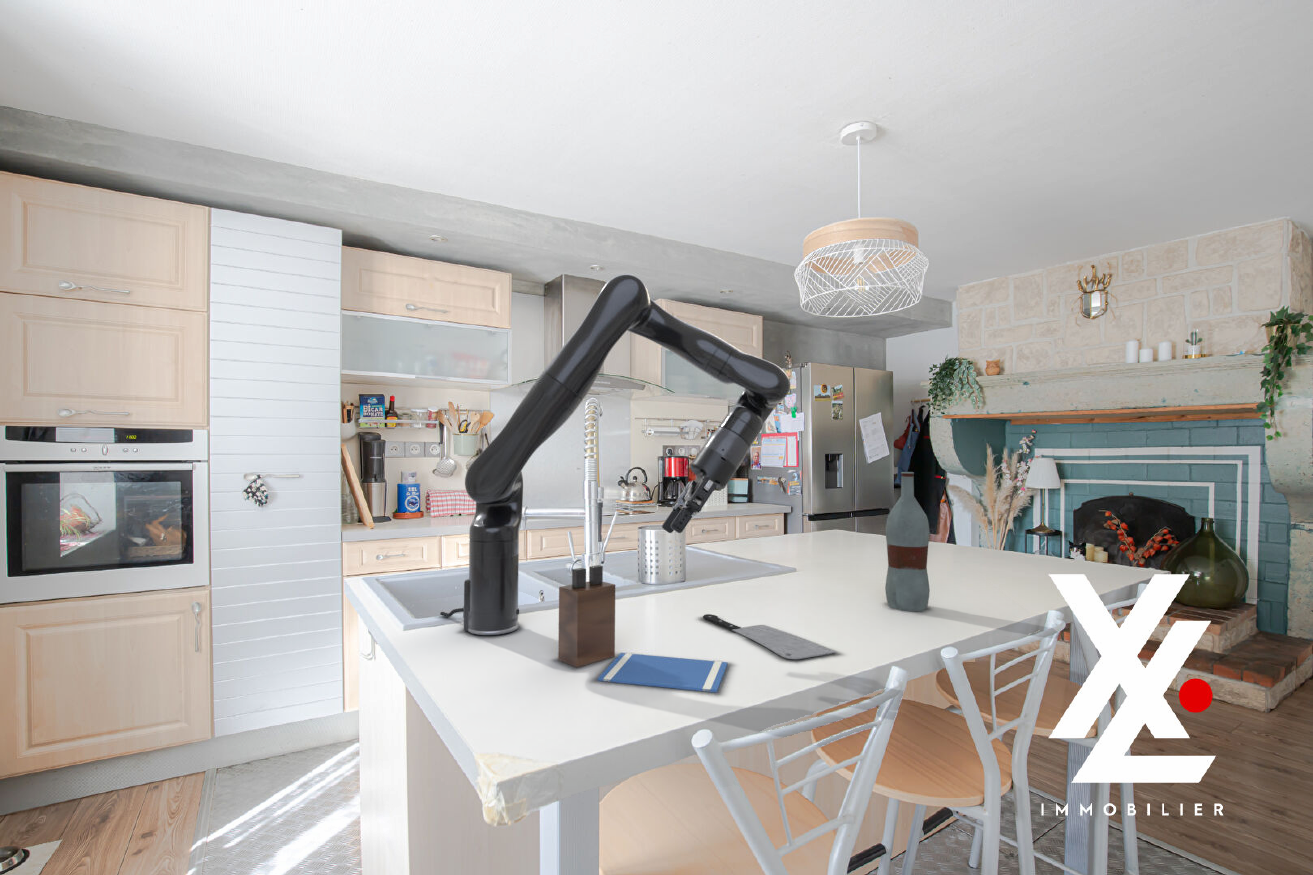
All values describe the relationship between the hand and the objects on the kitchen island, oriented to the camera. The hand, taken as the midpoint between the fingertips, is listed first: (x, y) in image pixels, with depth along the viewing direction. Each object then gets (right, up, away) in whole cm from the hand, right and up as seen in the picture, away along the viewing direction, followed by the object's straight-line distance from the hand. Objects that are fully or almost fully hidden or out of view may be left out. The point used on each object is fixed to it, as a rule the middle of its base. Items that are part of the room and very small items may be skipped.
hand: (670, 530), depth 112 cm
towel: (-1, -20, -14) cm, 24 cm away
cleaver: (+17, -21, +6) cm, 27 cm away
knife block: (-14, -20, -8) cm, 26 cm away
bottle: (+53, -21, +28) cm, 64 cm away
